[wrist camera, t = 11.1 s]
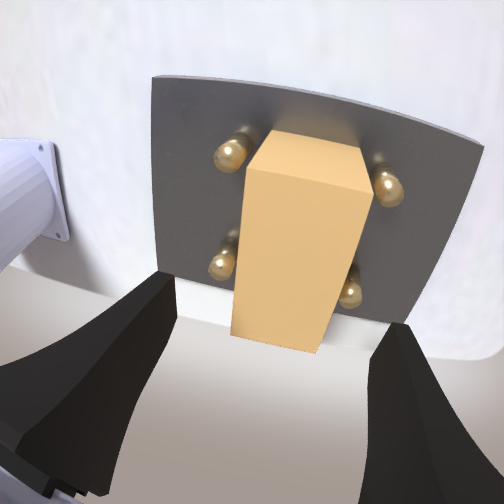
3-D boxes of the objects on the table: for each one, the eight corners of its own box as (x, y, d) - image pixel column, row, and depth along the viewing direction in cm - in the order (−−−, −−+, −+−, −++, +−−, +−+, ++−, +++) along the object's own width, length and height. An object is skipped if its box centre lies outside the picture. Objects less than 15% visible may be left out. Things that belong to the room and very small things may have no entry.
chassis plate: (164, 262, 21) (144, 292, 19) (161, 75, 14) (129, 83, 12) (400, 314, 20) (405, 349, 17) (476, 140, 12) (502, 161, 10)
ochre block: (253, 268, 19) (230, 335, 15) (271, 129, 14) (246, 167, 10) (322, 283, 18) (315, 353, 14) (359, 148, 13) (373, 194, 9)
